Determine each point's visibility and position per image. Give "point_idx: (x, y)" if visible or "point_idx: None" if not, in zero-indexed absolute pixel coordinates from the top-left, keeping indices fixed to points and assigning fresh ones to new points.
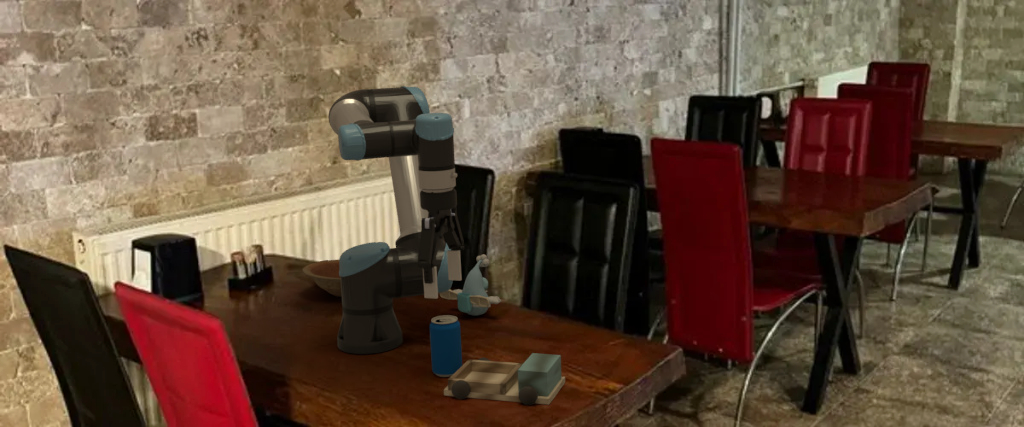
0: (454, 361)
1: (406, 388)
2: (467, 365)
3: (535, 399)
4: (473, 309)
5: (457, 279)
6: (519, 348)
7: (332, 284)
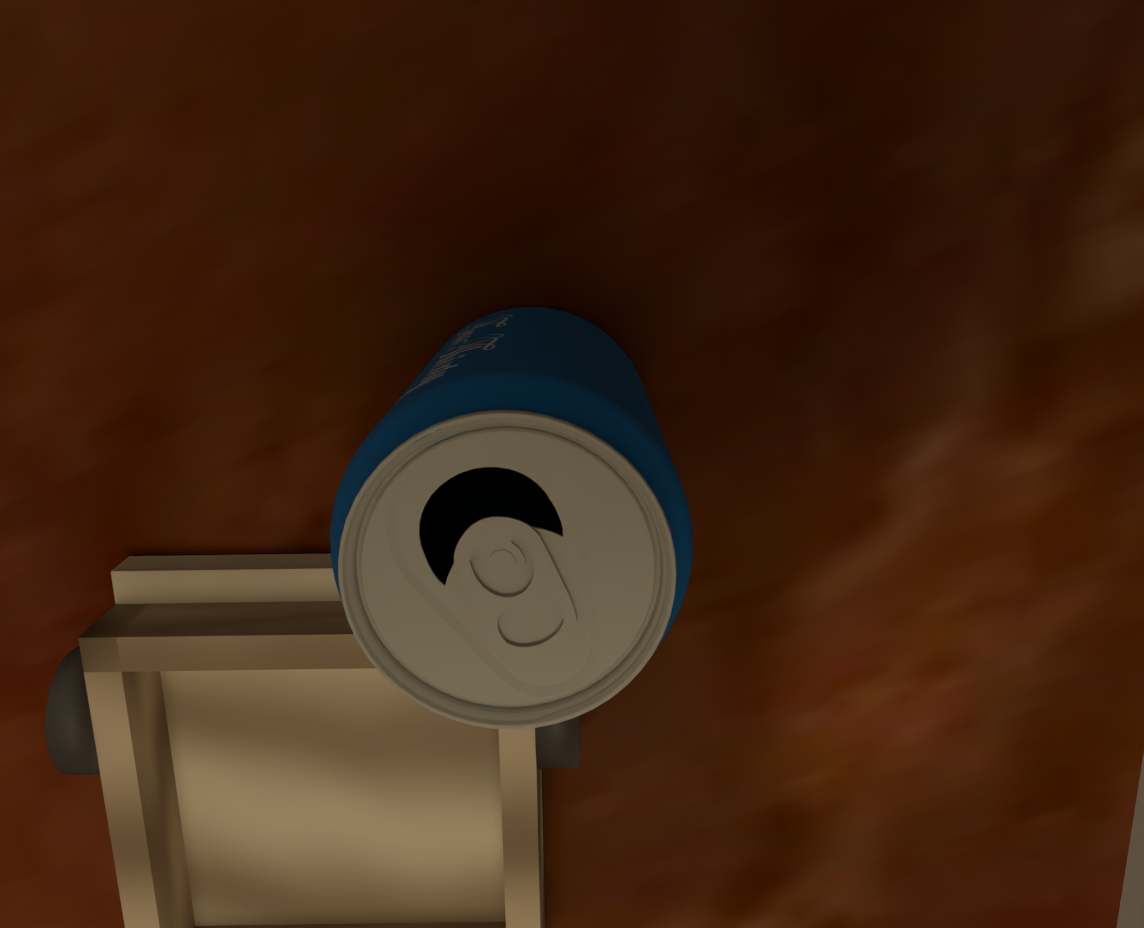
0: (452, 547)
1: (157, 239)
2: None
3: None
4: None
5: (1133, 910)
6: (1115, 734)
7: None
